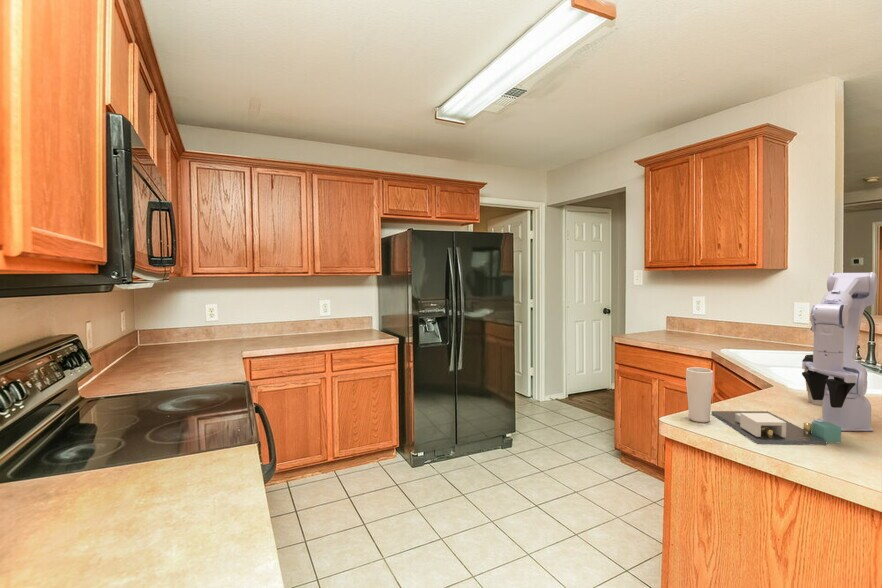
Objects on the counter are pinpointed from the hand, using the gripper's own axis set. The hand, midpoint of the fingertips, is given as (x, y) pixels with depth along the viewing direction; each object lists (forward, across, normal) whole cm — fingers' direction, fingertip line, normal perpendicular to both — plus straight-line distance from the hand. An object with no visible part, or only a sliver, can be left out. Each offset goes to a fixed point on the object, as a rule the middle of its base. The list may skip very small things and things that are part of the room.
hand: (826, 403), depth 109 cm
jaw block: (+10, 0, 0) cm, 10 cm away
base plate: (+9, -8, -10) cm, 16 cm away
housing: (+8, -4, -14) cm, 17 cm away
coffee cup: (+10, -30, +20) cm, 37 cm away
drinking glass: (+10, -14, -24) cm, 30 cm away
